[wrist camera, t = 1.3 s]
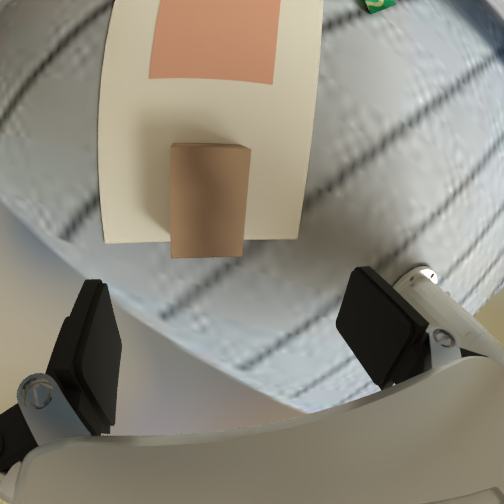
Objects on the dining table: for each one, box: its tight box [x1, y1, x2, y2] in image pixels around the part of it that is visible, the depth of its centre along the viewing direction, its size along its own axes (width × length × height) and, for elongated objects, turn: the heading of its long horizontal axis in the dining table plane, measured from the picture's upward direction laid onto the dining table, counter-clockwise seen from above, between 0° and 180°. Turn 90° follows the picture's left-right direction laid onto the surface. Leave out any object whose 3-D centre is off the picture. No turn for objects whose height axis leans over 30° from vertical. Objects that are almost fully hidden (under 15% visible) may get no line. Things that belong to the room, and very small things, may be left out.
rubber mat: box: [98, 0, 323, 244], centre depth 21 cm, size 20×28×1 cm
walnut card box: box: [170, 143, 251, 258], centre depth 23 cm, size 6×9×4 cm, turn 175°
